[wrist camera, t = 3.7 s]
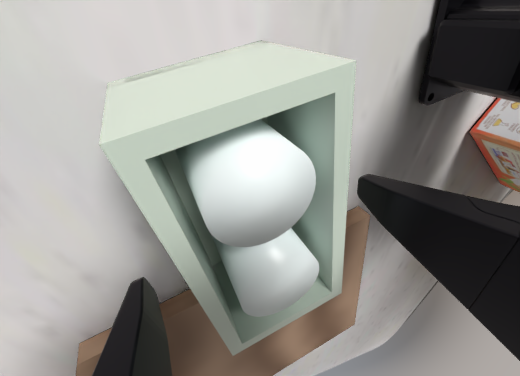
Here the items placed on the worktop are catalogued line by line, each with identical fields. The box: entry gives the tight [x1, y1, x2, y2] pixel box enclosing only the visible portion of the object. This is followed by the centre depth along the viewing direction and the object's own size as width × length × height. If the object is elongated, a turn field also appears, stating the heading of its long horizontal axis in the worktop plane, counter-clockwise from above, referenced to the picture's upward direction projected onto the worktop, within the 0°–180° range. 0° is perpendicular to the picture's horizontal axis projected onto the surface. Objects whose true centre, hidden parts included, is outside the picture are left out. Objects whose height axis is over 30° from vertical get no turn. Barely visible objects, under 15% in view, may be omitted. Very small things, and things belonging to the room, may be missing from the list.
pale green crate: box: [99, 41, 356, 356], centre depth 11 cm, size 6×11×6 cm, turn 11°
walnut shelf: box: [76, 206, 370, 376], centre depth 22 cm, size 20×18×3 cm
